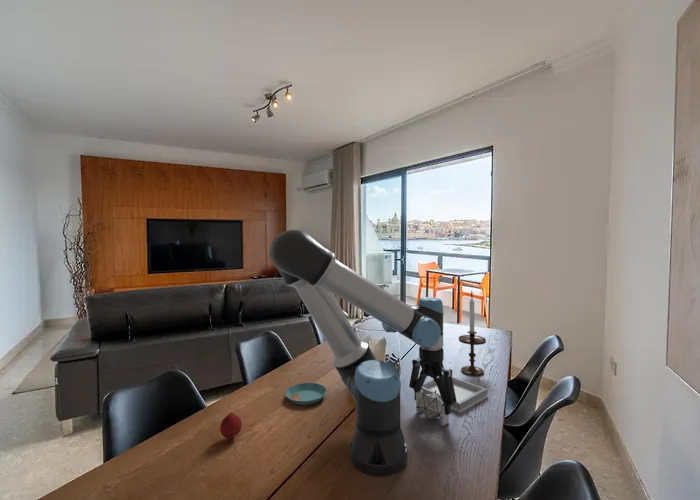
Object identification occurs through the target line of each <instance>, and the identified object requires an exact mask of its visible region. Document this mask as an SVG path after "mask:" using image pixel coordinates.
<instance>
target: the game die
mask: <svg viewBox="0 0 700 500" xmlns="http://www.w3.org/2000/svg"><path fill="white" fill-rule="evenodd" d="M422 395H423V397H422V399H421V402H420V404H419V406H417V407H416V406H415V409H416V408H419V409H420V410H421V412H422V414H423V416H425V418H426V422H427V423H428V422H429V420H431V419H436V418H439V419H440V420H441V403H443V401H442V400H441V399H440V398H439V397H438V395H437V394H436V390H435V393H430V394H425V395H424V394H423V393H422Z"/></svg>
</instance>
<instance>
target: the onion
mask: <svg viewBox="0 0 700 500" xmlns="http://www.w3.org/2000/svg"><path fill="white" fill-rule="evenodd" d="M234 412H235V411H233V410H231V411H229V413H228V414H227V415H226V416H224V418H223V419H222V420H221V422H220V426H219V431H220V434H221V435H222V436H223V438H226V439H229V440H233V439H234V438H235V437H237V436H238V435H239V434H240V432H241V430H242V427H243V423H242V420H241V418H240V417H239V416H238V415H237V414H235V413H234ZM232 438H233V439H232Z"/></svg>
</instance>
